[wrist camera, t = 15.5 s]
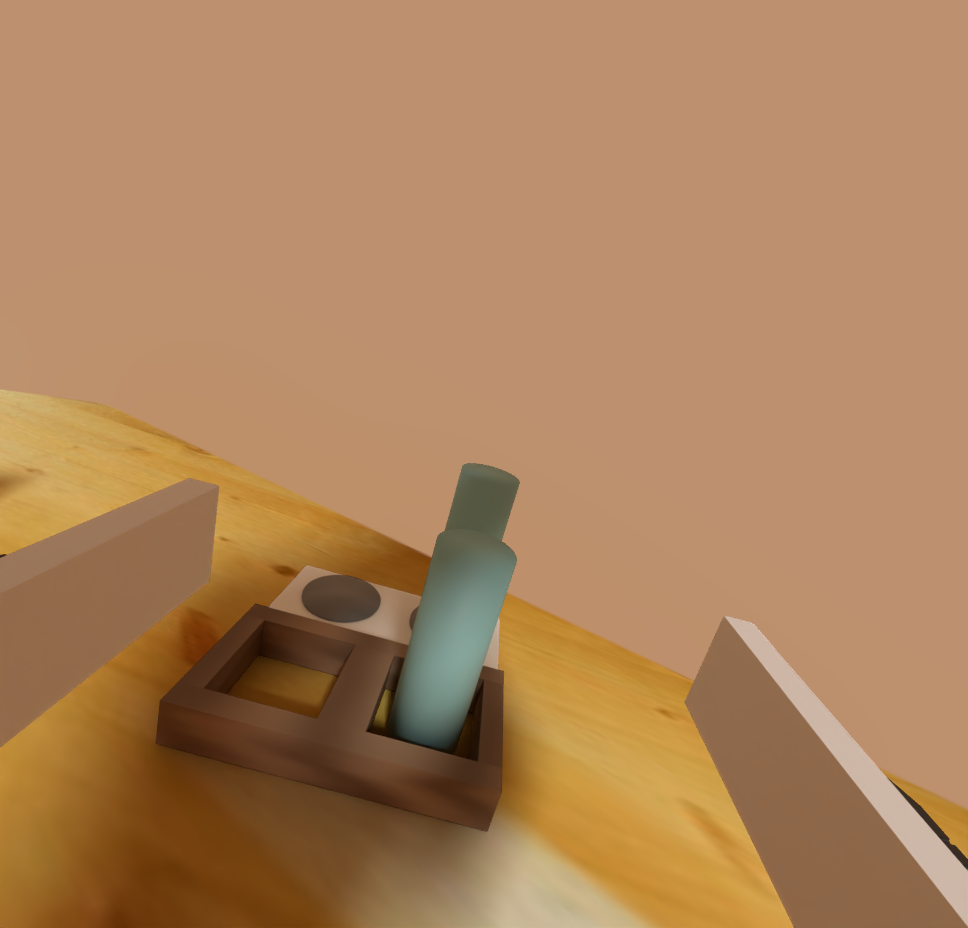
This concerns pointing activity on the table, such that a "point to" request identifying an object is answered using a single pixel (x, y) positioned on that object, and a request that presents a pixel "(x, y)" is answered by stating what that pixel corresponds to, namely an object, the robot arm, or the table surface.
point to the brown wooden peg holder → (334, 721)
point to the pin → (483, 500)
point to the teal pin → (450, 638)
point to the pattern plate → (358, 606)
